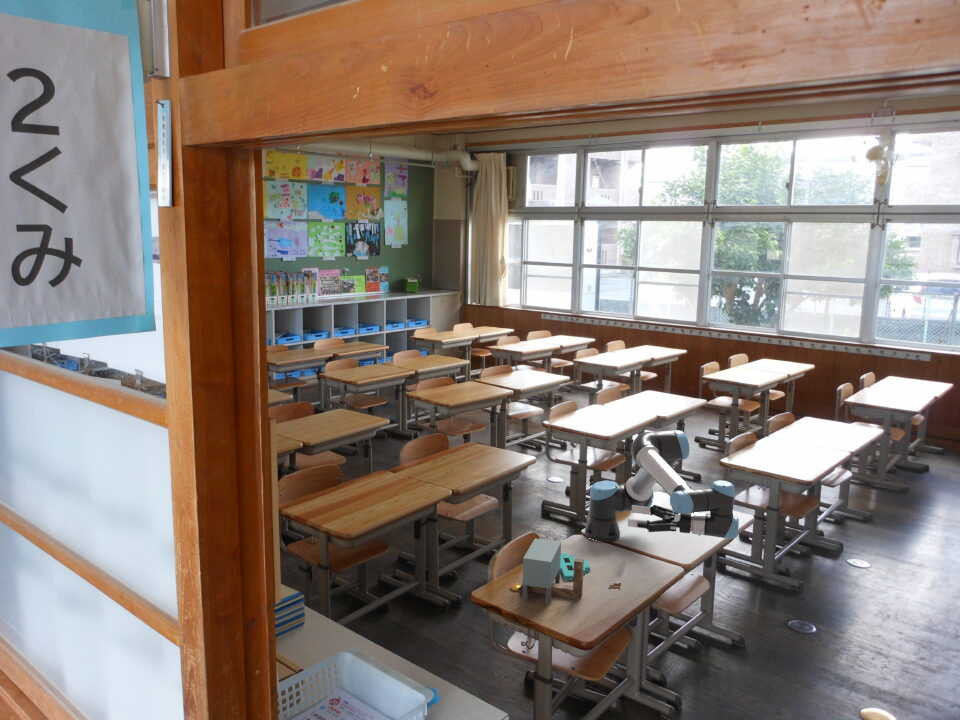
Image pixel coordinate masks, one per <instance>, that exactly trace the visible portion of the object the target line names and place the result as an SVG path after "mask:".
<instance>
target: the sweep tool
mask: <svg viewBox="0 0 960 720" xmlns="http://www.w3.org/2000/svg"><path fill="white" fill-rule="evenodd" d="M574 558H575V560H574V576H573V580H572V581H573V583H572V585H568V584H562V583H559V584H556V583H555V582H553V584H552V586H551V596H558V597H559V596H560V597H564V598H572V599H578V600H581V599H582V598H583V591H584V589H583V588H584V582H583V581H584V574H583V565H584V560H585V559H584V558H580V557H574ZM521 584H522V585H521V591H520V594H521V595H522V594H523V582H522V583H521ZM528 592H532V593H540V594H545V595H546V588H542V587H535V586H529V585H528Z"/></svg>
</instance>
